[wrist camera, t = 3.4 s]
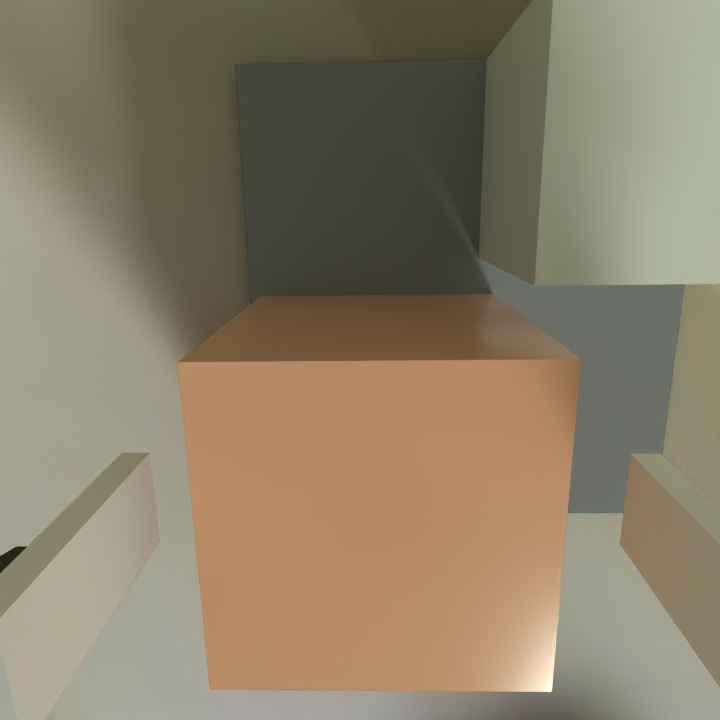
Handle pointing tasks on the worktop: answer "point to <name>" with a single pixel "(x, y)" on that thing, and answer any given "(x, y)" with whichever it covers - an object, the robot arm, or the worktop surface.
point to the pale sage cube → (604, 144)
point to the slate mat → (435, 235)
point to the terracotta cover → (380, 493)
